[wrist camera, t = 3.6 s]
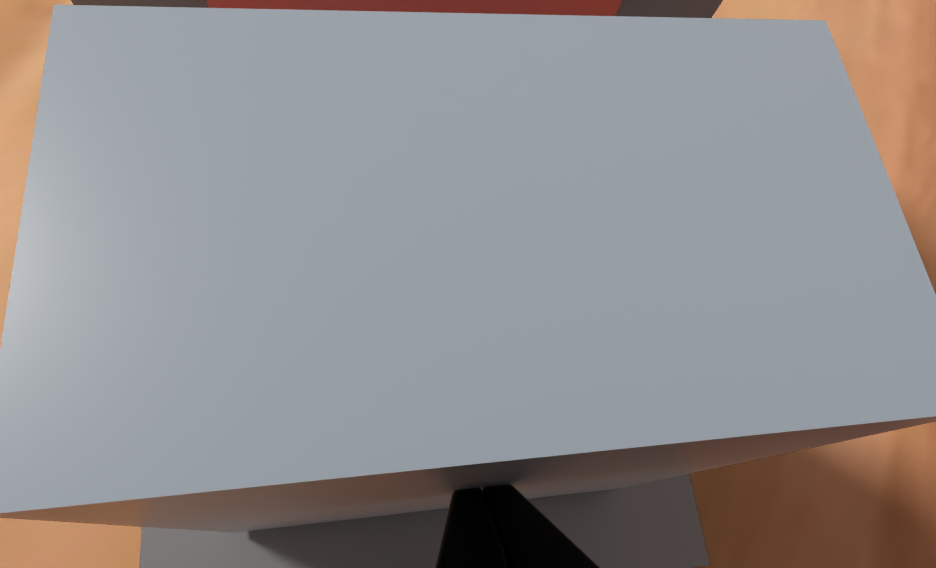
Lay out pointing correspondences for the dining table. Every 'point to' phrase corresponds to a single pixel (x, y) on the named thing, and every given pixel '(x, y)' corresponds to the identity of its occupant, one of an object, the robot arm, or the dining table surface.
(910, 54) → the dining table surface
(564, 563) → the robot arm
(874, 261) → the blue-gray rectangular block
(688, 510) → the plate
